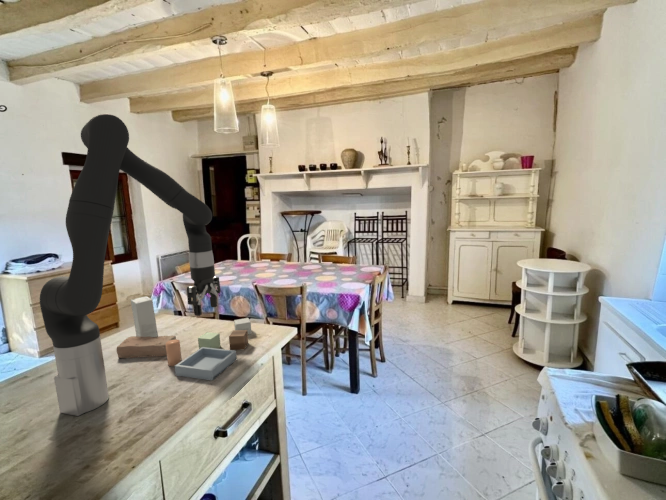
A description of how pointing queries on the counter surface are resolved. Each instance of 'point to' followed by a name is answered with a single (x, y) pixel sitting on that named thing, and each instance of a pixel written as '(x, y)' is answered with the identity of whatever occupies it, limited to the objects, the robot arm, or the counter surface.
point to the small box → (243, 324)
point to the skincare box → (144, 317)
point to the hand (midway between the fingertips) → (206, 310)
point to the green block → (209, 340)
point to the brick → (143, 346)
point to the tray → (205, 363)
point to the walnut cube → (238, 339)
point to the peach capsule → (173, 352)
